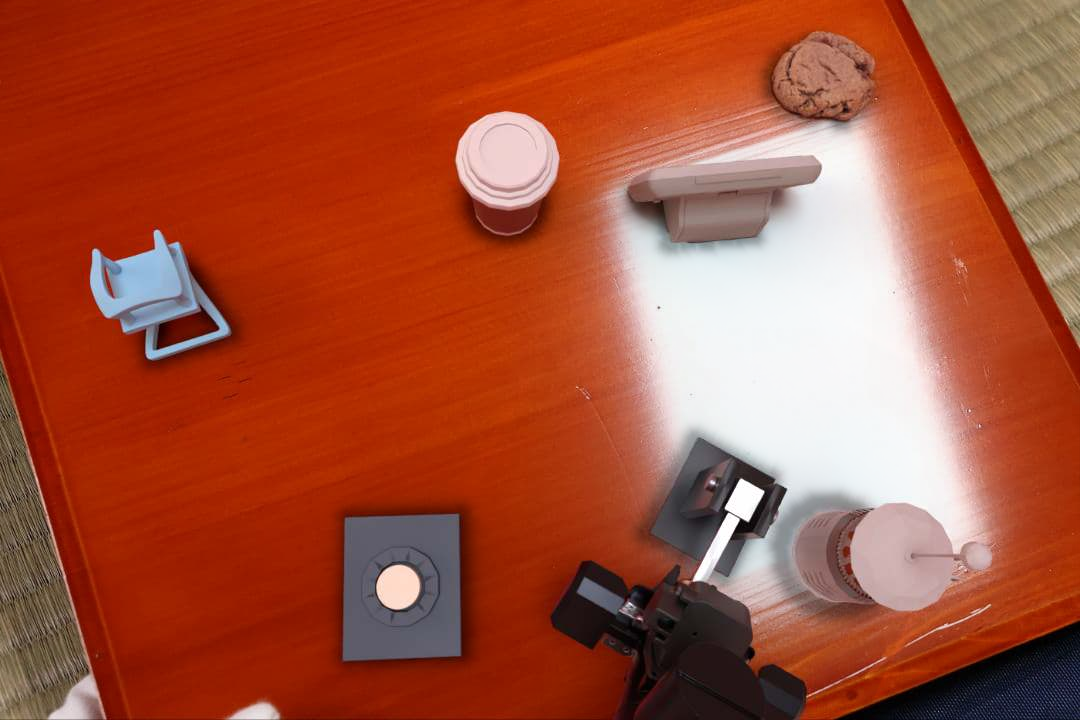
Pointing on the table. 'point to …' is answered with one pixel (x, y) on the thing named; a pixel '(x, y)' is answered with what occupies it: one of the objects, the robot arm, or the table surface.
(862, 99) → the cookie
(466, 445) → the table surface
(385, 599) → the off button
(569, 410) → the table surface
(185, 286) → the chair
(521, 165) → the coffee cup
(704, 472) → the switch bracket
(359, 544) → the control box
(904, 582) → the french press
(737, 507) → the switch lever
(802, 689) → the robot arm
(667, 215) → the digital clock
